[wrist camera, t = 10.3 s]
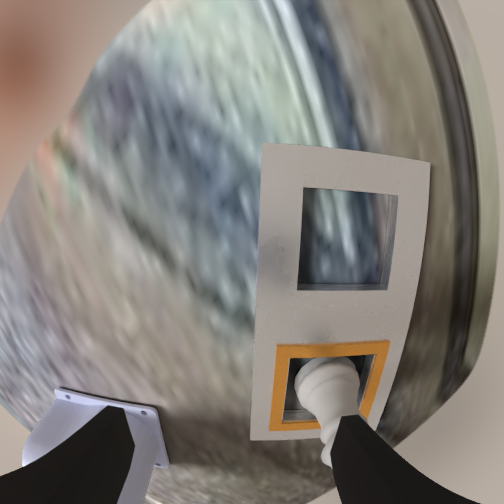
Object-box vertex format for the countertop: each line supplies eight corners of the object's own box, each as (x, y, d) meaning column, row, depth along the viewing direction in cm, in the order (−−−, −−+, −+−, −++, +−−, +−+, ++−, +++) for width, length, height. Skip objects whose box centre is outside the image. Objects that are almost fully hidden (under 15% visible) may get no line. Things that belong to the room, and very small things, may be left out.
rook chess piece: (363, 380, 20) (404, 458, 12) (310, 408, 20) (331, 493, 12) (339, 338, 19) (384, 420, 11) (281, 371, 19) (296, 462, 11)
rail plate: (249, 429, 20) (249, 442, 19) (261, 145, 16) (262, 142, 15) (371, 421, 21) (376, 432, 19) (420, 163, 16) (431, 162, 15)
